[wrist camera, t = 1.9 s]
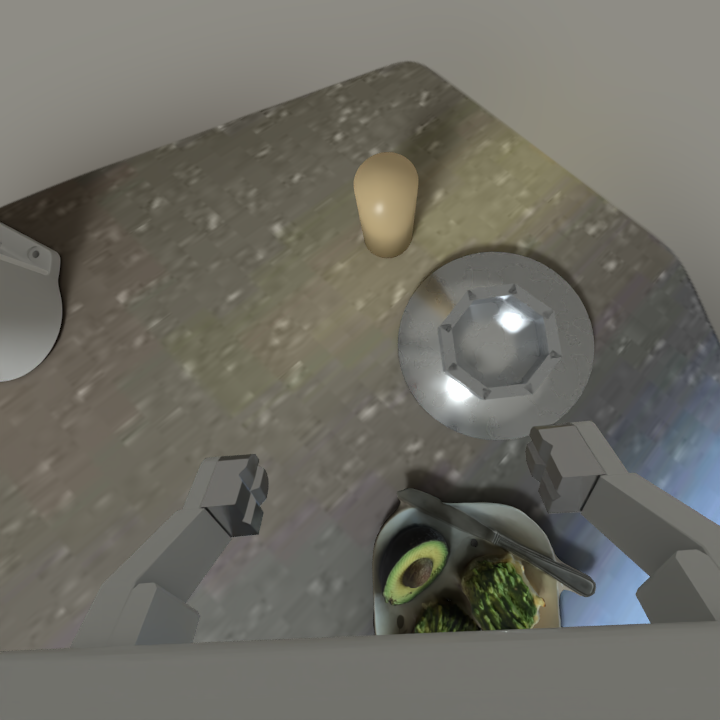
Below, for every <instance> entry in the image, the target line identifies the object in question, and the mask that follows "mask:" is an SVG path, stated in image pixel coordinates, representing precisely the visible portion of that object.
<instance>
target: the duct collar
mask: <svg viewBox="0 0 720 720" xmlns="http://www.w3.org/2000/svg"><path fill="white" fill-rule="evenodd" d="M398 356H399V362H400V367H401V370H402V373H403V376H404V379H405V381H406V383H407V385H408V388H409V390H410V391H411V393H412V394H413V396H414V397H415V399H416V400H417V401H418V403H419V404H420V405H421V406H422V407H423V408H424V410H426V411H427V412H428V413H429V414H430V415H431V416H432V417H433V418H435V419H436V420H438V421H439V422H441V423H442V424H443V425H445V426H447V427H449V428H451V429H453V430H454V431H456V432H459V433H462V434H464V435H467V436H470V437H475V438H479V439H487V440H510V439H516V438H522V437H525V436H528V435H529V434H530V430H531V428H532V427H533V426H542V425H551V424H553V423H555V422H556V421H558V420H559V419H560V418H561V417H562V416H564V415H565V414H566V413H567V412H568V411H569V410H570V409H571V407H572V406H573V405H574V404H575V403H576V401H577V400H578V398H579V397H580V395H581V394H582V392H583V390H584V388H585V386H586V384H587V382H588V379H589V376H590V373H591V370H592V365H593V359H594V337H593V330H592V326H591V322H590V319H589V316H588V314H587V311H586V309H585V307H584V305H583V303H582V301H581V300H580V298H579V296H578V295H577V294H576V292H575V291H574V290H573V288H572V287H571V286H570V285H569V284H568V283H567V282H566V281H565V280H564V279H563V278H562V277H561V276H560V275H558V274H557V273H556V272H555V271H553V270H552V269H550V268H549V267H547V266H545V265H544V264H542V263H540V262H538V261H535V260H533V259H531V258H528V257H525V256H521V255H518V254H512V253H506V252H483V253H476V254H471V255H467V256H464V257H461V258H458V259H455V260H453V261H451V262H449V263H447V264H445V265H444V266H442V267H441V268H439V269H438V270H436V271H434V272H433V273H432V274H431V275H430V276H429V277H428V278H426V279H425V280H424V281H423V283H422V284H421V285H420V286H419V287H418V288H417V290H416V291H415V292H414V294H413V295H412V297H411V298H410V300H409V302H408V304H407V306H406V308H405V311H404V314H403V316H402V319H401V324H400V328H399V335H398Z"/></svg>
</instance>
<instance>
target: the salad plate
mask: <svg viewBox="0 0 720 720" xmlns="http://www.w3.org/2000/svg"><path fill="white" fill-rule="evenodd" d="M397 495H398V499H399V500H400V501H401V503H400V506H399V507H398V509H397V510H396V511H395V512H394V513H393V514H392V515H391V516H390V517H389V519H388V520H387V521H386V522H385V523H384V525H383V526H382V527H381V529H380V531H379V533H378V535H377V537H376V540H375V544H374V550H373V561H372V570H373V596H374V614H373V626H374V630H375V635H393V634H416V633H440V632H463V631H480V628H482V631H487V630H510V629H534V628H558V627H561V619H560V610H559V599H560V593H561V592H562V591H563V590H569V591H572V592H575V593H576V594H578V595H580V596H584V597H589V596H591V595H593V594H594V593H595V590H596V584H595V582H594V581H593V580H592V579H591V577H589V576H588V575H586V574H584V573H582V572H580V571H578V570H576V569H574V568H572V567H570V566H568V565H567V564H565V563H563V562H562V561H561V560H559V559H558V557H557V556H556V555H555V553H554V550H553V549H552V546H551V544H550V541H549V539H548V537H547V535H546V534H545V533H544V532H543V530H542V529H541V528H540V527H539V526H538V525H537V524H536V523H535V522H534V521H533V520H532V519H531V518H529V517H528V516H527V515H526V514H525V513H524V512H522V511H521V510H519V509H517V508H514V507H512V506H508V505H504V504H498V503H488V502H474V503H444V502H441V501H440V499H439V498H437V497H434V496H432V495H430V494H428V493H425V492H422V491H419V490H416V489H413V488H407V489H404V490H402V491H398V492H397ZM471 539H476V540H477V542H478V545H477V547H473V546H472V545H471ZM446 598H449V599H450V600H451V601H447V600H446Z"/></svg>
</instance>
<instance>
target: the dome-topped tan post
mask: <svg viewBox="0 0 720 720" xmlns="http://www.w3.org/2000/svg"><path fill="white" fill-rule="evenodd" d="M418 182H419V181H418V174H417V171H416V169H415V167H414V165H413V164H412V163H411V162H410V161H409V160H408V159H407V158H406V157H404V156H402V155H400V154H397V153H392V152H384V153H379V154H376V155H373V156H371V157H370V158H368V159H367V160H366V161H364V162H363V163H362V165H361V166H360V167H359V169H358V170H357V172H356V175H355V179H354V191H355V196H356V201H357V206H358V211H359V216H360V221H361V226H362V231H363V236H364V241H365V244H366V246H367V248H368V249H369V250H370V251H371V252H372V253H373V254H375V255H376V256H379V257H382V258H392V257H396V256H398V255H400V254H402V253H403V252H404V251H405V250H406V249H407V248H408V246H409V245H410V243H411V240H412V234H413V225H414V217H415V209H416V200H417V192H418Z"/></svg>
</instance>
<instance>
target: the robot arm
mask: <svg viewBox="0 0 720 720" xmlns="http://www.w3.org/2000/svg"><path fill="white" fill-rule="evenodd" d="M59 271H60V256H59V254H58V253H57V252H56V251H54V250H52V249H51V248H49V247H47V246H45V245H43V244H41V243H39V242H37V241H35V240H33V239H32V238H30V237H28V236H26V235H24V234H22V233H20V232H18V231H16V230H15V229H13V228H11V227H9V226H7V225H5V224H3V223H1V222H0V381H9V380H13V379H16V378H19V377H21V376H23V375H25V374H27V373H28V372H30V371H31V370H33V369H34V368H35V367H37V366H38V365H39V364H40V363H41V362H42V361H43V360H44V358H45V357H46V356H47V355H48V353H49V352H50V350H51V349H52V347H53V345H54V343H55V341H56V339H57V336H58V333H59V330H60V326H61V321H62V300H61V295H60V291H59V286H58V277H59ZM529 435H530V437H531V439H532V441H530V442H529V443H528V444H527V446H526V451H525V452H526V461H527V465H528V468H529V471H530V473H531V475H532V477H533V478H535V479H536V480H537V481H539V482H540V486H539V490H538V492H539V494H540V496H541V499H542V501H543V503H544V505H545V508H546V510H547V512H548V513H570V512H581V514H582V515H583V516H584V517H585V518H586V519H587V520H588V521H589V522H590V523H591V524H593V525H594V526H595V527H596V528H597V529H598V530H599V531H600V532H601V533H603V534H604V535H605V536H606V537H607V538H608V539H609V540H610V541H611V542H612V543H614V544H615V545H616V546H617V547H618V548H619V549H620V550H621V551H622V552H623V553H625V554H626V555H627V556H628V557H629V558H630V559H631V560H632V561H633V562H635V563H636V564H637V565H638V566H639V567H640V568H641V569H642V570H643V571H644V572H646V573H647V574H648V575H649V576H650V578H648V579H647V580H646V581H645V582H644V583H643V584H642V585H641V586H640V587H639V588H638V590H637V592H636V596H637V598H638V600H639V602H640V604H641V606H642V608H643V609H644V611H645V613H646V615H647V617H648V619H649V621H650V623H651V624H628V625H605V626H581V627H558V628H534V629H510V630H487V631H463V632H440V633H416V634H393V635H369V636H346V637H322V638H299V639H275V640H251V641H228V642H204V643H193V639H194V636H195V632H196V629H197V625H198V621H199V618H200V615H199V613H198V611H196V610H195V609H193V608H192V607H190V606H189V605H187V604H186V602H187V600H188V599H189V597H190V596H191V595H192V593H193V592H194V591H195V589H196V588H197V586H198V585H199V584H200V582H201V581H202V579H203V578H204V577H205V575H206V574H207V573H208V571H209V570H210V568H211V567H212V566H213V564H214V563H215V561H216V560H217V559H218V557H219V556H220V555H221V553H222V552H223V550H224V549H225V548H226V546H227V545H228V544H229V542H230V541H231V539H232V538H231V537H240V536H250V535H259V530H260V526H261V521H262V517H263V511H262V509H261V507H260V505H261V504H262V503H263V502H264V501H265V500H266V498H267V494H268V476H267V473H266V471H265V469H264V468H263V467H261V466H259V465H258V463H259V459H258V457H257V456H256V454H247V455H234V456H220V457H209V458H205V459H204V460H203V462H202V463H201V465H200V467H199V470H198V472H197V474H196V477H195V479H194V482H193V484H192V487H191V489H190V491H189V494H188V496H187V499H186V501H185V504H184V506H183V508H182V510H177V511H176V512H175V513H174V514H173V515H172V516H171V517H170V518H169V519H168V520H167V521H166V522H165V523H164V524H163V525H162V526H161V527H160V528H159V529H158V530H157V531H156V532H155V533H154V534H153V535H152V536H151V537H150V538H149V539H147V540H146V541H145V542H144V543H143V544H142V545H141V546H140V547H139V548H138V549H137V550H136V551H135V552H134V553H133V554H132V555H131V556H130V557H129V558H128V559H127V560H126V561H125V562H124V563H123V564H122V565H121V566H120V567H119V568H118V569H117V570H116V571H115V572H114V573H113V574H112V575H111V576H110V577H109V578H108V579H107V580H106V581H105V582H104V583H103V584H102V585H101V587H100V589H99V591H98V593H97V595H96V597H95V599H94V601H93V603H92V605H91V607H90V609H89V611H88V613H87V615H86V617H85V619H84V621H83V623H82V625H81V627H80V629H79V631H78V633H77V635H76V637H75V639H74V640H73V642H72V644H71V646H70V648H63V649H39V650H16V651H0V720H720V526H719V525H717V524H716V523H714V522H713V521H711V520H709V519H708V518H706V517H705V516H703V515H701V514H700V513H698V512H697V511H695V510H693V509H692V508H690V507H689V506H687V505H685V504H684V503H682V502H681V501H679V500H677V499H676V498H674V497H673V496H671V495H670V494H668V493H666V492H665V491H663V490H662V489H660V488H658V487H657V486H655V485H654V484H652V483H650V482H649V481H647V480H646V479H644V478H642V477H641V476H639V475H638V474H636V473H628V471H627V470H626V468H625V467H624V465H623V464H622V462H621V461H620V460H619V458H618V457H617V455H616V454H615V452H614V451H613V449H612V448H611V447H610V445H609V444H608V442H607V441H606V439H605V438H604V436H603V435H602V434H601V432H600V431H599V429H598V428H597V426H596V425H595V424H594V423H593V422H591V421H583V422H575V423H560V424H551V425H542V426H533V427H532V428H531V430H530V434H529Z"/></svg>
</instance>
